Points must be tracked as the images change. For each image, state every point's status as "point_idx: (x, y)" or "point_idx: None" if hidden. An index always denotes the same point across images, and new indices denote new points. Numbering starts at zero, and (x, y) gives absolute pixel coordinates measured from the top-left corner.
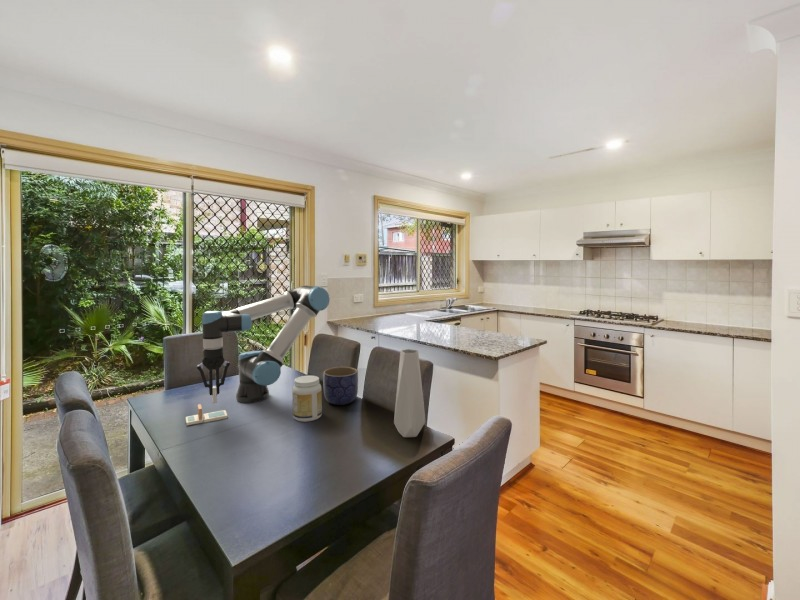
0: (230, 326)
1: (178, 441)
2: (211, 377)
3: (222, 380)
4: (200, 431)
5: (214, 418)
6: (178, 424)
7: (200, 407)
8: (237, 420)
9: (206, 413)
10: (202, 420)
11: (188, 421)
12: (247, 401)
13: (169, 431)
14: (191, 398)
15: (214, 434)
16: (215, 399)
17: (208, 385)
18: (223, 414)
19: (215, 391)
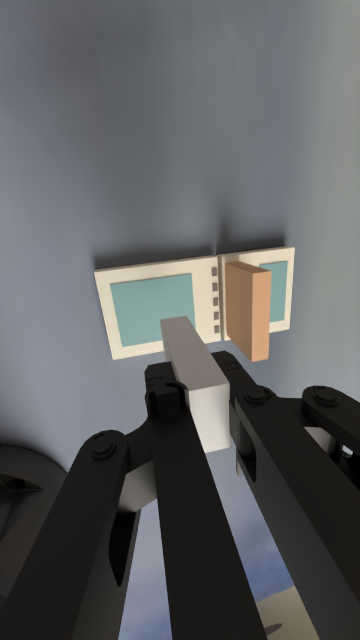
0: None
1: (339, 24)
2: (358, 563)
3: (93, 505)
4: (231, 125)
5: (164, 262)
6: (310, 281)
7: (258, 299)
8: (28, 202)
9: (203, 341)
10: (222, 255)
11: (285, 260)
12: (3, 450)
13: (350, 210)
14: (246, 522)
15: (156, 8)
16: (173, 327)
17: (294, 415)
18: (117, 291)
19: (186, 364)
